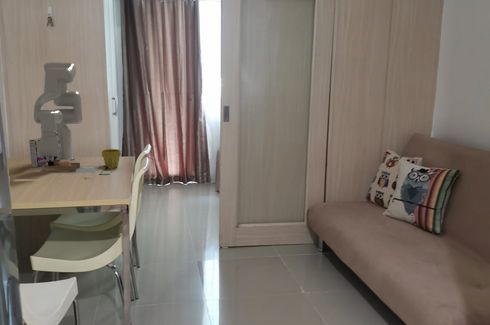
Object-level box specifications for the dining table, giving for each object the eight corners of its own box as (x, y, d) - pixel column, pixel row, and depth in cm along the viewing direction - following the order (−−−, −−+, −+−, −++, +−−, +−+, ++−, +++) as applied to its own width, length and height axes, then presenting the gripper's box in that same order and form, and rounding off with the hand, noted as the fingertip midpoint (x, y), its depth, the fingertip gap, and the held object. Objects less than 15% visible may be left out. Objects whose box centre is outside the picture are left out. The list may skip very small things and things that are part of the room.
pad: (98, 172, 240) (98, 170, 240) (111, 171, 241) (111, 170, 241) (96, 174, 233) (96, 173, 233) (109, 174, 234) (109, 173, 234)
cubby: (48, 168, 242) (47, 162, 241) (80, 167, 244) (79, 162, 244) (42, 171, 232) (42, 166, 232) (75, 171, 235) (75, 165, 234)
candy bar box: (45, 165, 256) (43, 137, 253) (52, 165, 254) (50, 137, 251) (30, 168, 246) (28, 139, 243) (37, 169, 244) (35, 140, 241)
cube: (62, 168, 241) (61, 159, 240) (71, 168, 241) (71, 159, 240) (59, 170, 236) (59, 161, 235) (69, 170, 236) (68, 161, 235)
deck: (47, 168, 247) (47, 166, 246) (100, 167, 251) (100, 165, 250) (36, 175, 229) (36, 173, 229) (94, 174, 233) (94, 172, 233)
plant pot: (115, 169, 247) (115, 152, 246) (99, 168, 249) (98, 151, 248) (124, 165, 257) (123, 149, 256) (108, 165, 259) (107, 148, 258)
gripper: (65, 133, 239) (67, 166, 242) (36, 133, 237) (39, 167, 240) (61, 135, 231) (64, 169, 235) (32, 135, 229) (34, 169, 233)
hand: (51, 168), depth 237 cm, fingers closed
